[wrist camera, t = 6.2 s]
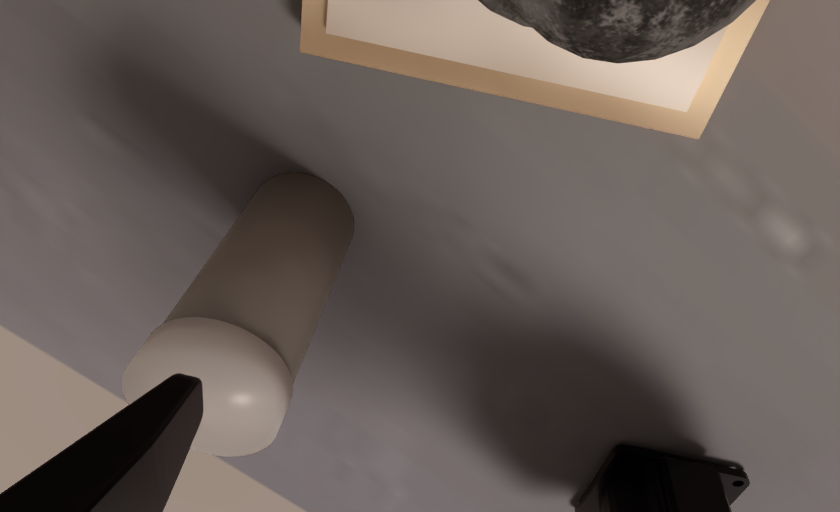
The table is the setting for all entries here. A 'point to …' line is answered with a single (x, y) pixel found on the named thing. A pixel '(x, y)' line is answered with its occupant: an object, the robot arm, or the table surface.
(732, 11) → the salt shaker
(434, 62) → the maple picture frame
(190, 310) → the pepper shaker
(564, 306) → the table surface
